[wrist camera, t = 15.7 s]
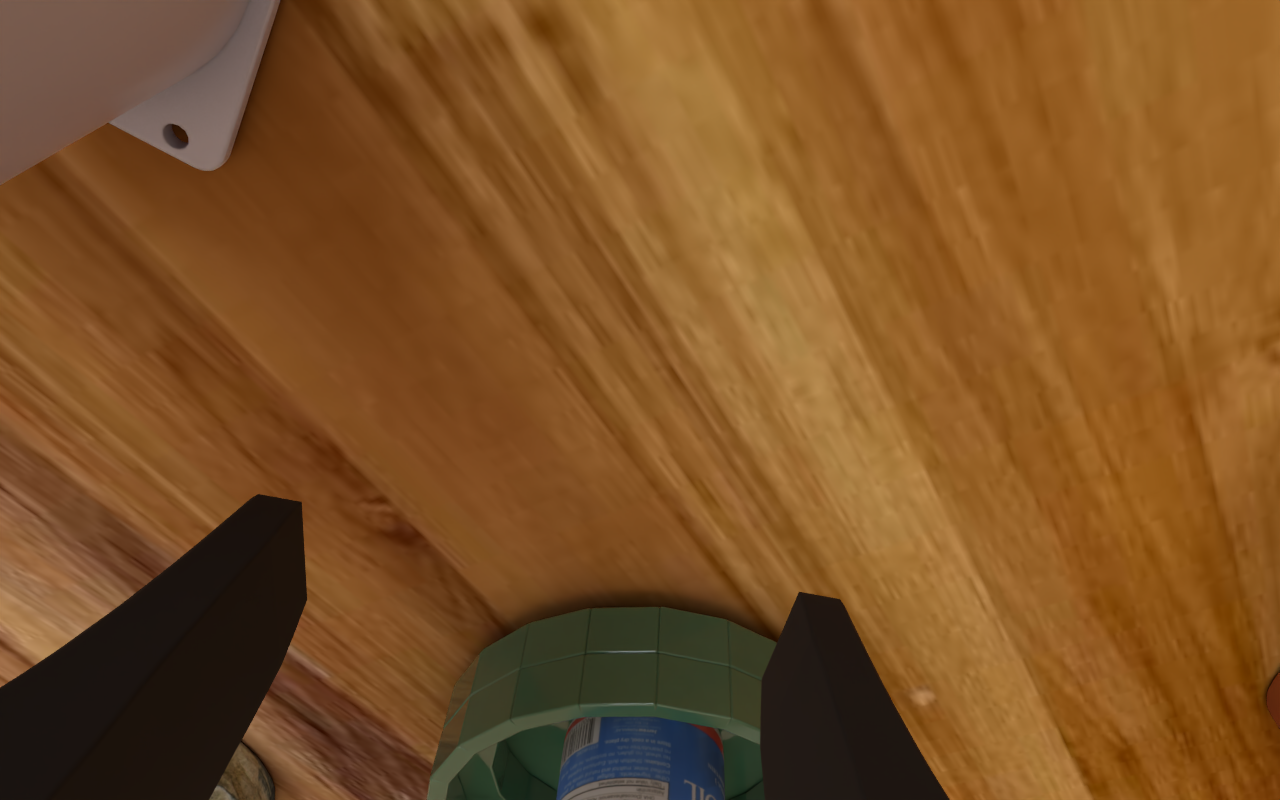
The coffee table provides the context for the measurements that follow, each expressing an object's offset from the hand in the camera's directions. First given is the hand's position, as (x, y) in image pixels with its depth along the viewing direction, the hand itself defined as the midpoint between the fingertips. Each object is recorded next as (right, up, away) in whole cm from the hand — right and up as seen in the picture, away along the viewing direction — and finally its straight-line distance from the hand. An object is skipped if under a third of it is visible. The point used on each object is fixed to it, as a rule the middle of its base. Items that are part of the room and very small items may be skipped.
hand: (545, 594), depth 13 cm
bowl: (+1, -8, +17) cm, 19 cm away
